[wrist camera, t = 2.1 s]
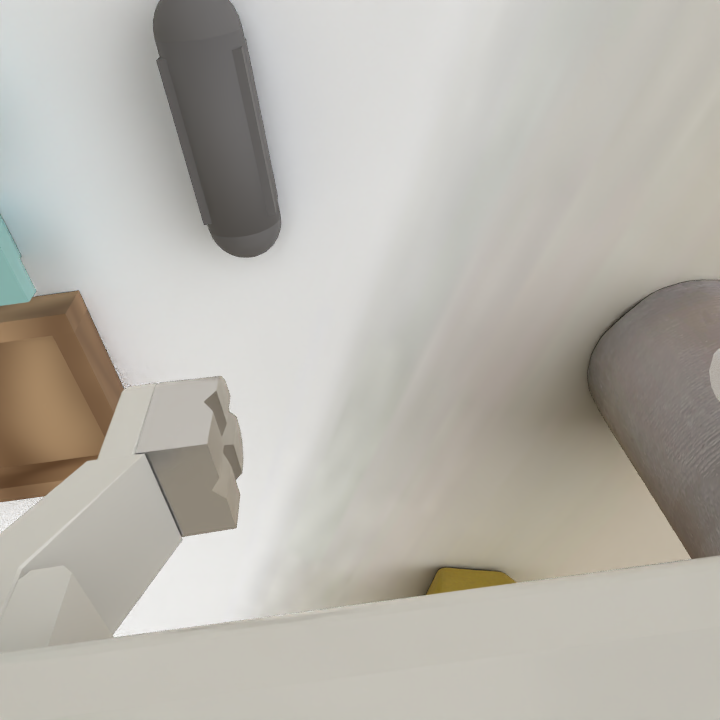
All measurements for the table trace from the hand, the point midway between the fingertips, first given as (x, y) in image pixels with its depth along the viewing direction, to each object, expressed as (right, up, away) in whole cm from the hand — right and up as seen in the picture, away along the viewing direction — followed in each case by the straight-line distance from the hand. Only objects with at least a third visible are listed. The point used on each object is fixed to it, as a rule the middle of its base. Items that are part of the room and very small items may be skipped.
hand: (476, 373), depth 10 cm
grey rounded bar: (-7, +10, +14) cm, 19 cm away
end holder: (-21, -2, +21) cm, 30 cm away
